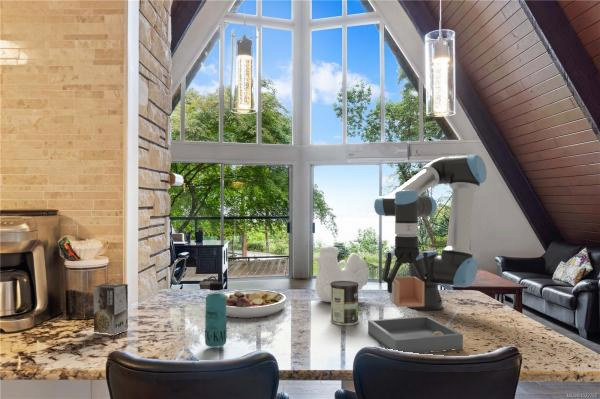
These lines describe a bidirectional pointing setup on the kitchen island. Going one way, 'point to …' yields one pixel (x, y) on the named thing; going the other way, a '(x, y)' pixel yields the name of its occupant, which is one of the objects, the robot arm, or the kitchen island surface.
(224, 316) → the beverage bottle
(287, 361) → the kitchen island surface
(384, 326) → the tray
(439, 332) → the ball
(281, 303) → the bowl
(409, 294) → the open brown box
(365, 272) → the decorative rooster
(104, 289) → the coffee box
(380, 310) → the kitchen island surface
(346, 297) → the coffee can
